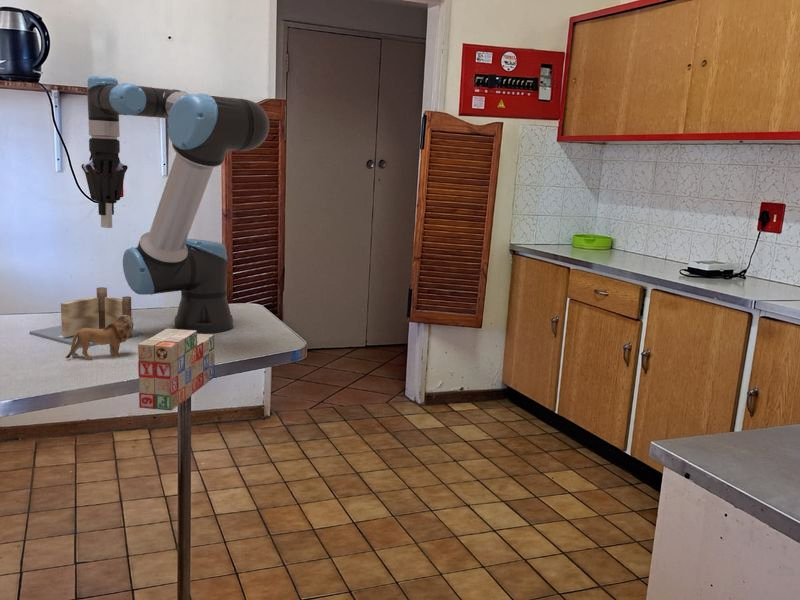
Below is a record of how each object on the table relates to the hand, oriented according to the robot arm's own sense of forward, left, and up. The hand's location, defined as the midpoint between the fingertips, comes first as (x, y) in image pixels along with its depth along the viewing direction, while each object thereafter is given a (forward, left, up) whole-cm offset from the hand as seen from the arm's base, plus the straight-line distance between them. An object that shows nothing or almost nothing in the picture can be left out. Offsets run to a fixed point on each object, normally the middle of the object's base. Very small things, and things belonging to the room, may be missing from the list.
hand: (106, 227), depth 199 cm
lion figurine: (-32, +27, -25) cm, 48 cm away
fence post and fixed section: (-18, +12, -24) cm, 32 cm away
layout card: (-13, +17, -24) cm, 32 cm away
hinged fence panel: (-14, +19, -23) cm, 33 cm away
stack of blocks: (-63, +33, -25) cm, 76 cm away
